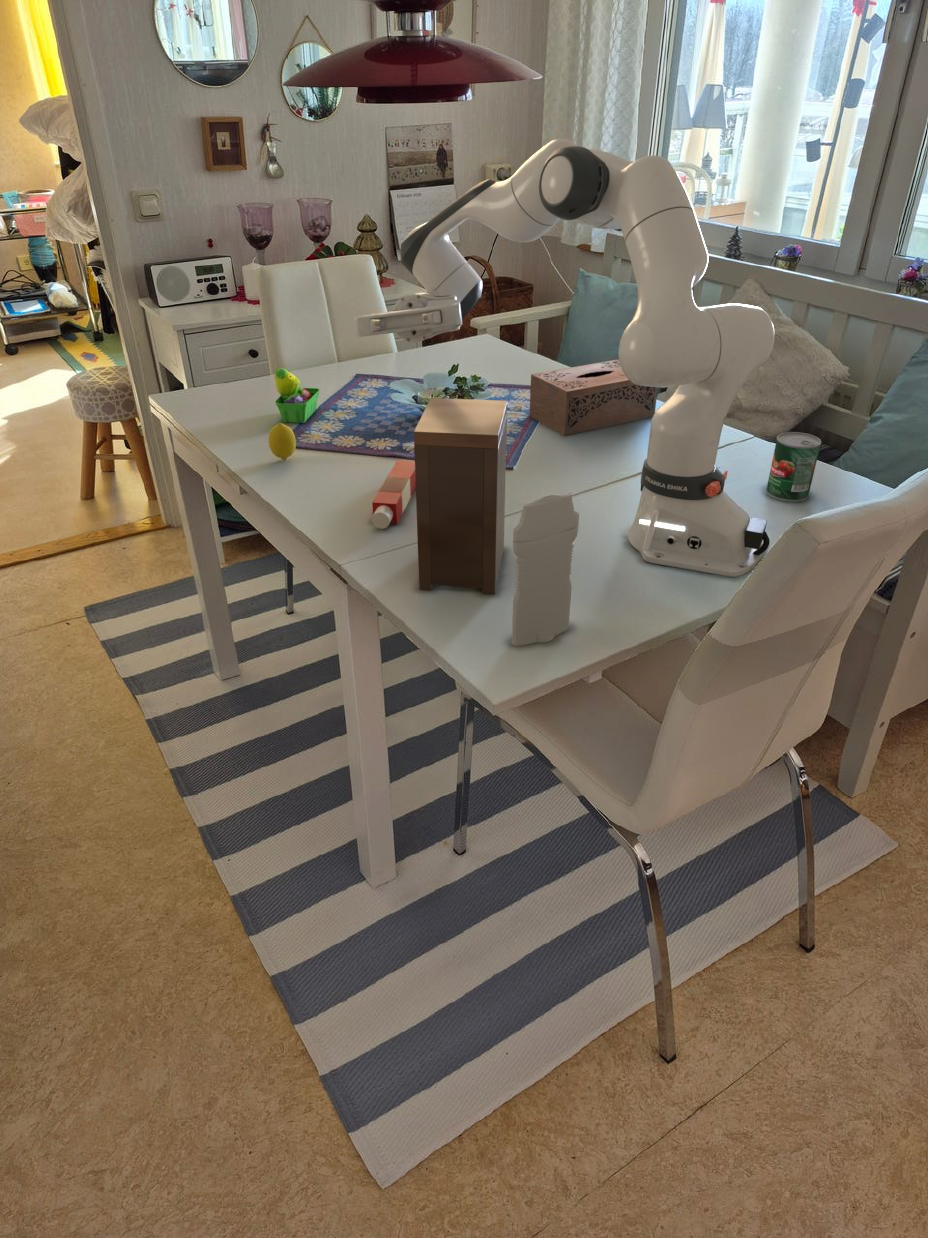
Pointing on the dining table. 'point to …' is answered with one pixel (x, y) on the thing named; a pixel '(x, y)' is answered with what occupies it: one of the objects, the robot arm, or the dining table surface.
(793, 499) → the canned tomato
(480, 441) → the walnut stand
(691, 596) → the dining table surface
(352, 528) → the dining table surface
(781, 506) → the dining table surface
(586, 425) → the tissue box cover
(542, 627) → the tall pale column
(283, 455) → the lemon
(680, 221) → the robot arm
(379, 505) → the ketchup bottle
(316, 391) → the fruit basket
